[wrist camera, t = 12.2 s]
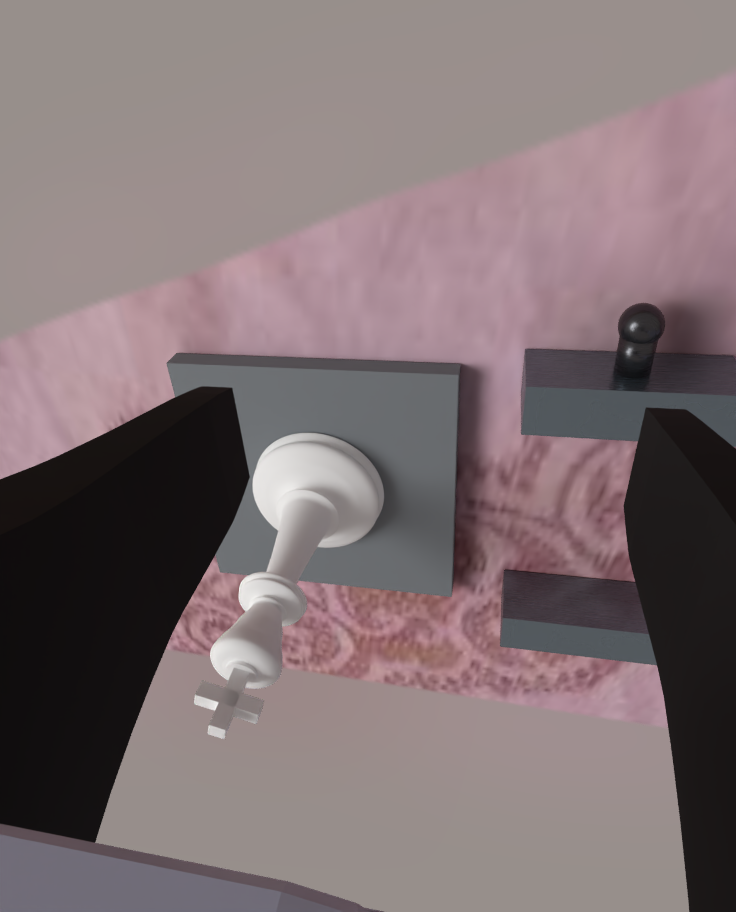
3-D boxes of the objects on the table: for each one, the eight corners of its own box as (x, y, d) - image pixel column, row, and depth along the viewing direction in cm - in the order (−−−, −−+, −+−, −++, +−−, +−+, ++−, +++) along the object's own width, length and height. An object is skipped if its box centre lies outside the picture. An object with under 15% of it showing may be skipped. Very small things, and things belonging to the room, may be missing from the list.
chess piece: (367, 552, 25) (295, 806, 17) (249, 515, 25) (122, 751, 17) (399, 456, 22) (331, 709, 14) (264, 414, 22) (121, 641, 14)
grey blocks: (752, 290, 18) (782, 325, 16) (655, 614, 25) (668, 666, 23) (530, 286, 19) (532, 319, 17) (501, 598, 26) (500, 646, 24)
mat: (460, 363, 21) (458, 375, 20) (453, 582, 26) (451, 596, 26) (176, 353, 22) (166, 363, 22) (226, 559, 28) (220, 572, 27)
